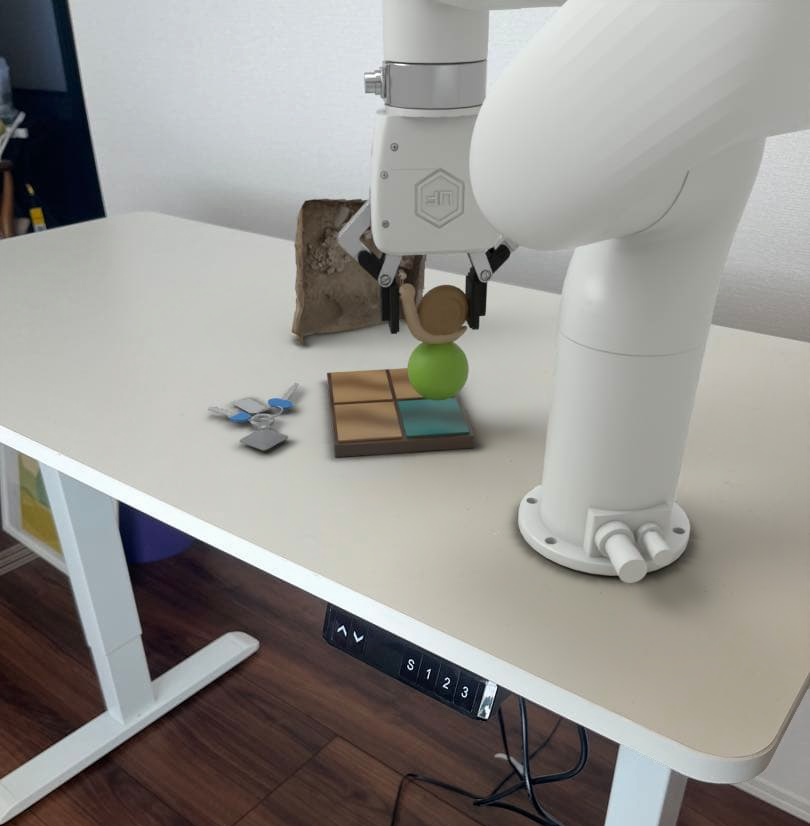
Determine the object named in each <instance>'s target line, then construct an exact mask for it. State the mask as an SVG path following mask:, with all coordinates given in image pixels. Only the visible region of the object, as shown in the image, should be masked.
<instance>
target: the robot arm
mask: <svg viewBox="0 0 810 826" xmlns="http://www.w3.org/2000/svg"><path fill="white" fill-rule="evenodd" d="M381 2H382V3H381V5H382V8H381V9H382V10H381V11H382V43H383V44H382V45H383V47H382V49H383V60H382V63H381V64H382V66H379V67H378V69H374V70H373V71H372V72H371V71H369V72H364V73H363V86H364V87H363V88H364V94H374V95H375V96H379V97H380V99H382V100H383V102H384V104H383V105H384V107H383V108H379V109H376V111H375V117H374V123H373V130H372V139H371V141H372V142H371V152H370V163H369V167H370V168H369V195H368V196H369V198H368V199H366V200H367V201H366V202H365V204H364V205H363V206H362V207H361V208H360V209H359V210H358V212H357V213H356V214H355V215H354V216H353V217H352V218H351V219H350V221H349V222H348V223H347V224H346V225H345V226H344V227H343V228H342V230H341V231H340V232H339V233H338V235H337V239H338V243H339V245H340V246H341V247H342V248H343V249H344V250H345V251H346V252H347V253H348V254H349V255H351V256H352V257H353V258H354V259H355V260H356V261H357V262H358V263H359V264H360V265H361V266H362V267H363V268H364V269H365V270H366V271H367V272H368V273H369V274H370V275H371V276H372V277H373V278H374V279H376V280H377V281H378V283H379V286H380V316H381V321H386V322H387V326H388V329H389V331H390V332H389V333H390V335H397V334H398V333H400V332H401V331H400V328H401V327H400V325H401V324H400V320H399V287H398V284H397V282H396V278H395V274H396V271H397V269H398V266H399V264H400V261H401V259H402V256H403V255H426V256H427V255H447V254H448V255H449V254H466V255H467V259H468V260H469V263H470V267H469V272H467V275H465V282H464V283H465V284H464V285H465V286H464V293H465V295H466V296H467V299H468V301H469V314H468V317H467V319H466V321H465V322H466V323H467V325H468V327H469V329H471V330H472V331H476V330H480V317H486V314H487V297H488V295H487V294H488V283H489V282H491V280H492V278H493V275H494V274H495V273H496V272H497V270H499V269H500V268H501V267H502V266H503V265H504V264H505V262H507V261H508V259H509V258H510V257H511V254H513V252H515V251H516V250H517V249H518V248H519V247H523V248H526V249H529V250H534V251H539V252H541V251H542V252H556V251H564V250H569V249H574V251H573V254H572V257H571V259H570V261H569V264H568V266H567V270H566V275H565V278H564V281H563V285H562V290H561V294H560V301H559V302H560V303H559V308H558V309H559V310H558V319H557V327H556V337H555V348H554V356H553V357H554V358H553V368H552V378H551V389H550V400H549V409H548V419H547V420H548V421H547V431H546V440H545V449H544V450H545V452H544V460H543V472H542V473H543V474H542V482H541V483H540V484H538V485H536V486H534V487H533V488H532V489H530V490H529V491H528V492H527V493H526V494H525V495H524V496H523V498H522V499H521V501H520V504H519V508H518V515H517V516H518V517H517V524H518V528H519V532H520V534H521V535H522V537H523V539H524V540H525V542H526V543H527V544H528V545H529V546H530V547H531V548H532V549H533V550H535V551H536V552H537V553H539V554H540V555H541V556H543V557H545V558H546V559H548V560H549V561H552V562H554V563H556V564H558V565H560V566H563V567H566V568H568V569H571V570H574V571H578V572H583V573H587V574H591V575H598V576H599V575H600V576H611V577H612V576H614V577H615V576H618V577H619V579H620V581H622V582H624V583H626V584H634V583H637V582H640V581H641V580H642V579H643V578H645V577H646V575H647V573H651V572H654V571H657V570H660V569H662V568H665V567H666V566H669V565H671V564H672V563H674V562H675V561H676V560H678V559H679V558H680V557H681V555H682V554H683V553H684V552H685V551H686V549H687V546H688V543H689V540H690V533H691V524H690V519H689V517H688V516H687V513H686V511H685V510H684V509H683V508H682V507H681V506H680V505H679V504H678V502H676V500H675V497H676V493H677V488H678V484H679V479H680V478H679V477H680V473H681V470H682V469H681V468H682V464H683V459H684V454H685V449H686V445H687V441H688V440H687V439H688V435H689V429H690V425H691V420H692V415H693V409H694V405H695V401H696V397H697V391H698V385H699V382H700V377H701V371H702V367H703V362H704V358H705V357H704V356H705V352H706V347H707V342H708V338H709V336H710V332H711V331H710V330H711V326H712V321H713V316H714V313H715V307H716V303H717V297H718V294H719V290H720V285H721V282H722V277H723V274H724V271H725V266H726V262H727V259H728V256H729V252H730V249H731V247H732V244H733V241H734V238H735V236H736V232H737V230H738V227H739V224H740V222H741V219H742V217H743V214H744V212H745V209H746V207H747V205H748V201H749V199H750V197H751V194H752V191H753V188H754V186H755V183H756V180H757V178H758V175H759V174H758V173H759V171H760V167H761V164H762V161H763V158H764V153H765V146H766V142H767V138H768V137H769V138H770V137H775V136H780V135H785V134H791V133H797V132H801V131H806V130H810V0H381ZM558 7H559V9H558V10H556V12H554V14H552V16H551V17H550V18H549V19H548V20H547V21H546V22H545V24H543V25H542V26H541V27H540V29H538V30H537V32H536V33H535V34H534V35H533V36H532V37H531V38H530V39H529V40H528V41H527V42H526V44H524V45H523V46H522V48H521V49H520V50H519V51H518V52H517V53H516V54H515V55H514V56H513V57H512V58H511V60H509V62H508V63H507V65H506V66H505V67H504V68H503V70H502V71H501V72H500V74H499V75H498V76H497V78H496V79H495V81H494V83H492V85H491V87H490V89H489V90H488V91H487V83H488V82H487V80H488V56H489V33H490V11H505V10H506V11H507V10H508V11H509V10H510V11H511V10H521V9H531V8H532V9H533V8H534V9H535V8H558ZM370 225H371V231H372V235H373V240H374V243H375V245H376V247H377V248H378V249H379V250H380V251H381V254H380V257H379V258H378V257H377V256H376V255H375V254H374V253H373V252H372V251H371V250H370V249H369V248H367V247H366V246H365V245H364V244H363V243H362V242H361V241H360V240H359V239H360V237H361V235H362V234H363V233H364V232H365V231H366V230H367V228H368V227H369V226H370Z"/></svg>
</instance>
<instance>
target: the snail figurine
mask: <svg viewBox="0 0 810 826" xmlns="http://www.w3.org/2000/svg"><path fill="white" fill-rule="evenodd" d="M398 275H399V276H400V285H401V279H402V285H401V286H400V288H399V297H400V299H401V302H402V309H403V313H404V317H405V320H404V322H405V324H406V327H407V329H408V331H409V333H410V334H411V335H412V337H413V338H414V339H415V340H417V341H419V342H421V343H420V344H419V345H417V346H416V347H415V348H414V349H413V351H412V352H411V354H410V356H409V357H408V362H407V367H406V368H407V371H408V378H409V381H410V383H411V385H412V387H413V388H414V389H415V391H416V392H417V393H419V394H420V395H421V396H423V397H425V398H427V399H430V400H436V401H439V400H446V399H449V398H451V397H453V396H455V395H456V394H459V393H460V392H461V391H462V389H463V388H464V386H465V385H466V383H467V380H468V378H469V371H470V370H469V369H470V368H469V367H470V366H469V360H468V358H467V355H466V354H465V352H464V350H463V349H462V348H461V346H459V345H458V344H457V343H455V342H456V341H458V340H459V339H460V338H461V337H463V335H464V334H465V333H466V332H467V330H468V326H467V325H464V324H465V323H466V322H467V321H466V319H467V317H468V314H469V301H468V299H467V296H466V295H465V291H464V290H462V289H461V288H459V287H458V286H456V285H451V284H441V285H436V286H434V287H433V288H431V289H429V290H428V291H426V293H425V294H424V295H423V298H422V299H421V301H420V303H419V305H418V309H417V310H416V306H415V302H414V297H415V288H414V287H413V286H412V285H411V284H408V283H406V284H403V279H405V278H406V276H407V275H406V273H404V271H403V270H402V269H400V270H398Z"/></svg>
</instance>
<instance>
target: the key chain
mask: <svg viewBox="0 0 810 826" xmlns="http://www.w3.org/2000/svg"><path fill="white" fill-rule="evenodd" d="M298 387H299V383H297V382H294V383H293V384H292V385H291V386H290V387H289V388H288V390H287V391H286V392H285V393H284V394H283V396H282V397H281V398H278V397H273V398H269V399H268V400H267V404H268V406H265V405H263V404H261V403H259V402H257V401H255V400H253V399H252V398H245V399H240V400H235V401H231V402H230V404H232V405H234V406H236V407H238V408H240V409H241V410H243V411H232V410H229V409H227V408H225V409H224V408H220V407H219V406H208V408H207V411H209V412H212V413H213V412H214V413H216V414H221V415H223V416H226V417H228V420H229V421H232V422H236V423H243V422H250V424H251V425H253V426H254V427H257V428H256V429H257V430H255V431H253V432H252V433H250V434H248V435H246V436H244V437H242V438H240V439H239V443H241V444H244V445H246V446H249V447H251V448H255V449H257V450H259V451H262V452H264V451H268V450H269V449H271V448H273V447H275V446H277V445H278V444H280V443H282V442H284V441H286V440H288V439H289V435H287V434H284V433H281V432H278V431H277V430H273V429H270V425H273V423H274V422H275V420H276V419H275V418H276V417H277V416H280V415H281V414H282V413H283V411H284V410H288V409H292V408H293V405H294V403H293V402H292V401H291V400H289V399H290V398H291V396H292V395H293V394H294V393H295V391H296V389H297V388H298ZM271 408H274V409H277V410H280V412H278V413H276V414H275V415H272V414H269V413H262V412H266V411H269V409H271ZM245 411H246V412H245ZM251 414H255V415H253V416H252V417H251ZM269 419H270V420H269ZM255 420H267V421H258V422H256V421H255Z"/></svg>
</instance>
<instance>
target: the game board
mask: <svg viewBox="0 0 810 826" xmlns="http://www.w3.org/2000/svg"><path fill="white" fill-rule="evenodd" d="M407 368H408V367H404V368H403V367H402V368H386V369H385V368H383V369H369V370H368V369H367V370H353V371H352V370H350V371H349V370H348V371H334V372H333V371H332V372H326V379H327V380H326V381H327V391H328V401H329V410H330V419H331V420H330V421H331V430H332V431H331V432H332V439H333V449H334V457H335V458H342V457H343V458H344V457H357V456H359V457H360V456H373V455H374V456H375V455H388V454H389V455H391V454H402V453H418V452H419V453H420V452H430V451H431V452H435V451H446V450H448V451H449V450H463V449H474V448H475V441H476V439H475V438H476V437H475V436H476V435H475V433H474V431H473V429H472V426H471V424H470V422H469V419H468V416H467V415H466V414H467V413H466V412H465V409H464V407H463V405H462V402H461V400H460V397H459V395H458V394H459V393H457V394H456V395H455V396H453V397H451V398H449V399H446V400H439V401H436V400H430V399H427V398H425V397H423V396H421V395H420V394H419V393H417V392H416V391H415V389H414V388H413V387H412V385H411V383H410V381H409V378H408V371H407Z"/></svg>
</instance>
